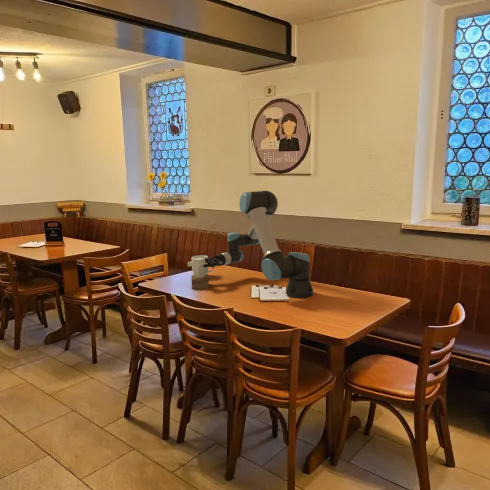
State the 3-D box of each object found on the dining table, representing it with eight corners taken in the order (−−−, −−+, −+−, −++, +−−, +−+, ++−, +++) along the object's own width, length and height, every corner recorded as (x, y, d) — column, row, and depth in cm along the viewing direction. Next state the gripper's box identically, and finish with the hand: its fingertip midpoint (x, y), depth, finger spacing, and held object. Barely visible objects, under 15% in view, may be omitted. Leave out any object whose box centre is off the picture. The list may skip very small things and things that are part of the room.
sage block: (205, 276, 261) (204, 258, 259) (198, 278, 258) (197, 260, 256) (200, 275, 265) (199, 257, 263) (194, 276, 261) (193, 259, 259)
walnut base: (208, 288, 258) (208, 278, 257) (192, 289, 257) (191, 279, 256) (208, 283, 268) (207, 274, 267) (191, 284, 267) (191, 275, 266)
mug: (213, 273, 295) (212, 254, 293) (216, 276, 284) (215, 257, 282) (191, 275, 292) (190, 256, 290) (193, 278, 281) (192, 259, 279)
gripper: (234, 267, 264) (204, 274, 249) (211, 262, 281) (182, 269, 266) (233, 255, 263) (204, 261, 248) (211, 251, 279) (182, 257, 265)
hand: (193, 265), depth 257 cm, fingers open, 10 cm apart
